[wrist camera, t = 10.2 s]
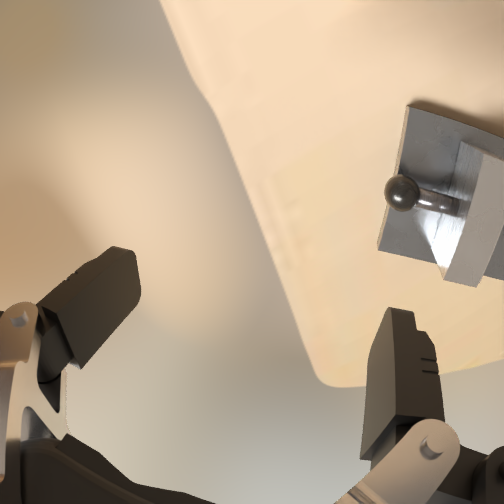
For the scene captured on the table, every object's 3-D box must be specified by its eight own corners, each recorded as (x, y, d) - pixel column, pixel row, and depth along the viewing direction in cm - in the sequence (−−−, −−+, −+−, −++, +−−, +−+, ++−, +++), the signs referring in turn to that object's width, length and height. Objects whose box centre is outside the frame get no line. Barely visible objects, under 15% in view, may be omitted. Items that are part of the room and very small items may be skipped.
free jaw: (496, 153, 18) (523, 169, 14) (464, 256, 23) (480, 288, 19) (392, 121, 20) (403, 129, 16) (369, 233, 25) (371, 263, 21)
